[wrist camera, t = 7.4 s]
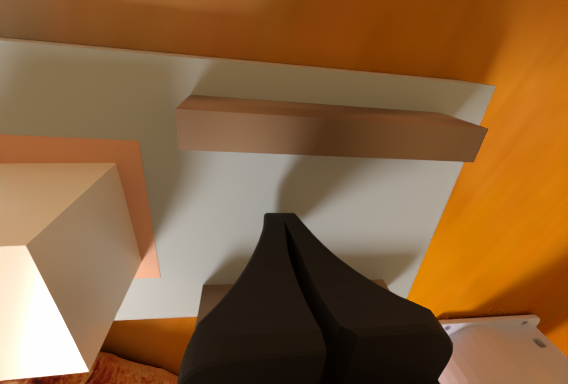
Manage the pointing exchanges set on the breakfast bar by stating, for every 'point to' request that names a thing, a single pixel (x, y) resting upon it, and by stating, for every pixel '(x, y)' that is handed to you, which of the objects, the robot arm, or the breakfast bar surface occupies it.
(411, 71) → the breakfast bar surface
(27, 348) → the cube
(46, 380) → the croissant
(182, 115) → the parallel rails
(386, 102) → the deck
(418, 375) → the robot arm
